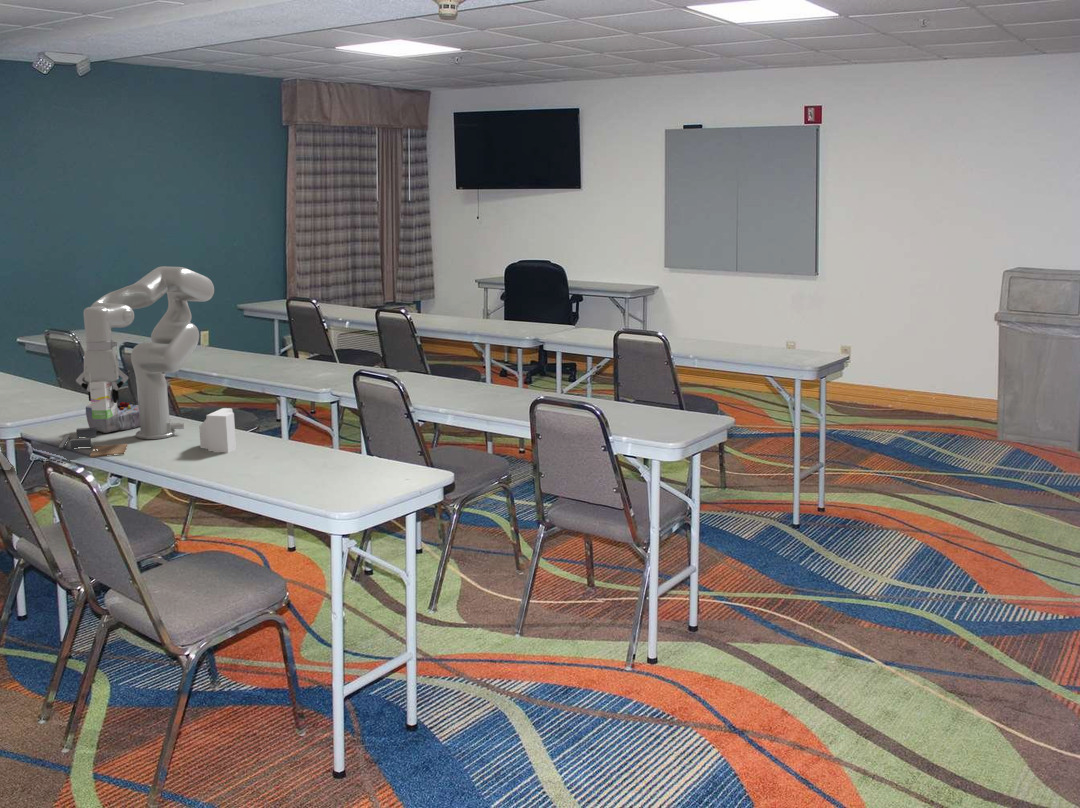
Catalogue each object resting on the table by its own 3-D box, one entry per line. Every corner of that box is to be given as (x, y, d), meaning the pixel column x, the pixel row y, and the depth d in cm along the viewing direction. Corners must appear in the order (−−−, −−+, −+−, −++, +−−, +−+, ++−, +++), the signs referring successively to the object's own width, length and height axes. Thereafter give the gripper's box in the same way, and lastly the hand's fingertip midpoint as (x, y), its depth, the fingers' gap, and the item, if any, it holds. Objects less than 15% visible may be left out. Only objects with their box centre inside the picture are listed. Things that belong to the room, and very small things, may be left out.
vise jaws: (97, 435, 356) (96, 427, 355) (90, 448, 340) (90, 439, 339) (66, 437, 353) (65, 429, 352) (58, 450, 337) (57, 441, 336)
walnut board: (127, 445, 343) (127, 443, 343) (124, 454, 332) (123, 453, 332) (94, 447, 340) (94, 445, 340) (89, 457, 329) (89, 455, 329)
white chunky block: (228, 453, 335) (225, 416, 332) (195, 451, 337) (192, 414, 334) (243, 444, 345) (241, 409, 342) (212, 443, 347) (209, 407, 344)
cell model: (79, 401, 358) (125, 392, 376) (82, 432, 360) (127, 421, 378) (107, 404, 353) (152, 395, 371) (110, 436, 355) (154, 425, 373)
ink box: (107, 419, 329) (103, 373, 326) (91, 419, 329) (87, 373, 326) (118, 413, 338) (115, 368, 335) (103, 413, 338) (99, 368, 335)
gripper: (130, 343, 335) (134, 398, 339) (71, 345, 330) (76, 401, 334) (127, 347, 328) (132, 403, 331) (67, 349, 323) (73, 406, 327)
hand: (104, 402), depth 333 cm, fingers closed on ink box, 6 cm apart
